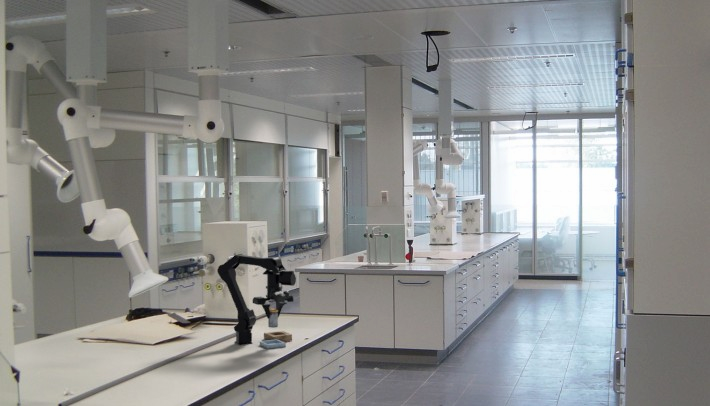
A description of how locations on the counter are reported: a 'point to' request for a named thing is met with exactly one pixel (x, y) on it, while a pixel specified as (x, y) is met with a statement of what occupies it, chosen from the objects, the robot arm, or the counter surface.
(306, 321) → the counter surface
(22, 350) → the counter surface
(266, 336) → the brown square frame
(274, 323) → the pin
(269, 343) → the tray
